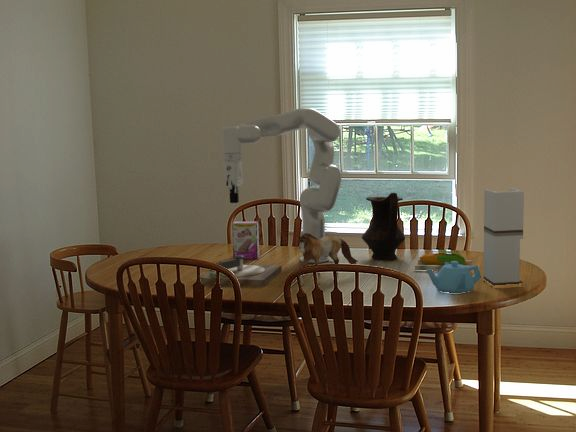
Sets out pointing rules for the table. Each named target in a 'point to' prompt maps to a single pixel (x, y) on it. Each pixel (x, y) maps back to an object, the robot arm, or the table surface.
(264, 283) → the tuner base
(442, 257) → the corn
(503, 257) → the white rectangular tower
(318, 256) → the horse figurine
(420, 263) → the corn rest
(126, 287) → the table surface
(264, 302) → the table surface
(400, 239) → the jug
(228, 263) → the lever with ball knob
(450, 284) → the teapot
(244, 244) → the candy bar box
